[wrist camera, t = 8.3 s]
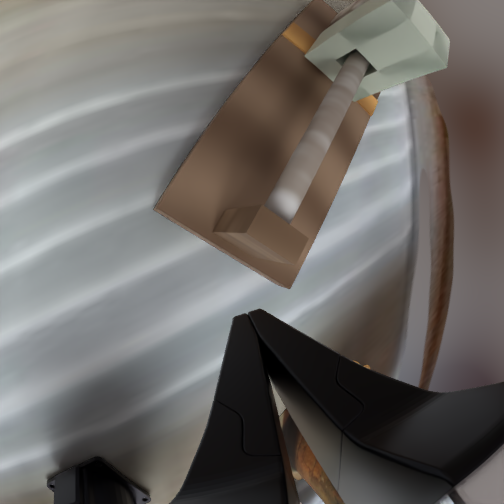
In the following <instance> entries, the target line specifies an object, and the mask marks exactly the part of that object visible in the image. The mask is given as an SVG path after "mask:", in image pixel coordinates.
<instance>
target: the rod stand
mask: <svg viewBox="0 0 504 504" xmlns="http://www.w3.org/2000/svg"><path fill="white" fill-rule="evenodd" d="M367 1H369V0H356V1H355V2H353V3H352V4H350V5H349V6H347V7H346V8H345V9H343V10H342V11H340V12H339V13H337V12H336V11H335V10H333V9H332V8H331V7H330V6H329V5H328V4H326V3H325V2H324V1H323V0H313V1H312V2H310V3H309V4H308V5H307V6H306V7H305V8H304V9H303V10H302V11H301V13H300V14H299V15H298V16H297V17H296V18H295V19H294V20H293V21H292V22H291V23H290V24H289V25H288V27H287V28H286V29H285V30H284V31H283V32H282V33H281V34H280V35H279V37H278V38H277V39H276V40H275V41H274V42H273V43H272V45H271V46H270V47H269V48H268V49H267V50H266V52H265V53H264V54H263V55H262V56H261V58H260V59H259V60H258V61H257V62H256V64H255V65H254V66H253V67H252V69H251V70H250V71H249V72H248V73H247V75H246V76H245V77H244V78H243V80H242V81H241V82H240V84H239V85H238V86H237V87H236V89H235V90H234V91H233V93H232V94H231V95H230V97H229V98H228V99H227V100H226V102H225V103H224V104H223V106H222V107H221V109H220V110H219V111H218V113H217V114H216V115H215V117H214V118H213V119H212V121H211V122H210V124H209V125H208V126H207V128H206V129H205V131H204V132H203V134H202V135H201V136H200V138H199V139H198V141H197V142H196V144H195V145H194V147H193V148H192V150H191V151H190V152H189V154H188V155H187V157H186V158H185V160H184V161H183V163H182V165H181V166H180V168H179V169H178V171H177V172H176V174H175V175H174V177H173V178H172V180H171V182H170V183H169V185H168V186H167V188H166V190H165V191H164V193H163V194H162V196H161V198H160V199H159V201H158V203H157V204H156V206H155V208H154V209H153V210H155V211H156V212H158V213H160V214H161V215H163V216H164V217H166V218H168V219H169V220H171V221H173V222H174V223H176V224H177V225H179V226H181V227H182V228H184V229H186V230H187V231H189V232H191V233H192V234H194V235H195V236H197V237H199V238H200V239H202V240H204V241H205V242H207V243H209V244H210V245H212V246H214V247H215V248H217V249H218V250H220V251H222V252H223V253H225V254H227V255H228V256H230V257H232V258H233V259H235V260H237V261H238V262H240V263H242V264H243V265H245V266H247V267H248V268H250V269H252V270H253V271H255V272H257V273H258V274H260V275H262V276H263V277H265V278H267V279H268V280H270V281H272V282H274V283H275V284H277V285H279V286H282V287H285V288H288V289H290V288H291V286H292V284H293V282H294V280H295V278H296V276H297V274H298V272H299V270H300V268H301V266H302V264H303V262H304V260H305V258H306V256H307V254H308V252H309V250H310V248H311V246H312V244H313V242H314V240H315V238H316V236H317V234H318V232H319V230H320V228H321V226H322V224H323V221H324V219H325V217H326V215H327V213H328V211H329V209H330V207H331V204H332V202H333V200H334V198H335V196H336V194H337V191H338V189H339V187H340V185H341V183H342V181H343V178H344V176H345V174H346V172H347V169H348V167H349V165H350V163H351V160H352V158H353V156H354V154H355V151H356V149H357V147H358V144H359V142H360V140H361V137H362V135H363V133H364V130H365V128H366V126H367V123H368V121H369V119H370V116H372V115H373V112H374V110H375V107H376V105H377V103H378V101H377V99H378V97H379V94H380V92H381V91H380V92H378V93H375V94H372V95H370V96H368V97H365V98H363V99H360V100H358V101H355V102H353V101H352V100H353V98H354V95H355V93H356V91H357V89H358V87H359V85H360V83H361V81H362V79H363V77H364V75H365V73H366V70H367V68H368V66H369V64H370V62H369V61H368V60H367V59H366V58H365V57H364V56H363V55H362V54H361V53H360V52H359V51H358V50H357V49H354V50H352V51H351V52H350V54H349V55H348V57H347V59H346V61H345V62H344V64H343V66H342V68H341V69H340V71H339V73H338V75H337V76H336V78H335V80H334V82H333V81H332V80H331V79H329V78H328V77H327V76H326V75H325V74H324V73H323V72H322V71H321V70H320V69H318V68H317V67H316V66H315V65H314V64H313V63H312V62H310V61H309V60H308V59H307V58H306V57H305V54H306V53H307V52H308V50H309V49H310V48H311V46H312V45H313V44H314V42H315V41H316V39H317V38H318V37H319V35H320V34H321V33H322V32H323V31H324V30H325V29H327V28H328V27H330V26H331V25H332V24H334V23H335V22H337V21H338V20H340V19H341V18H343V17H344V16H346V15H347V14H349V13H350V12H352V11H353V10H355V9H356V8H358V7H359V6H361V5H362V4H364V3H365V2H367Z"/></svg>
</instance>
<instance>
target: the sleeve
mask: <svg viewBox="0 0 504 504" xmlns="http://www.w3.org/2000/svg"><path fill="white" fill-rule="evenodd" d="M449 45H450V40H449V38H448V37H447V35H446V34H445V33H444V31H443V30H442V29H441V27H440V26H439V25H438V24H437V22H436V21H435V20H434V19H433V17H432V16H431V15H430V14H429V12H428V11H427V10H426V9H425V8H424V6H423V5H422V4H421V3H420V2H419V0H369V1H367V2H365V3H364V4H362V5H361V6H359V7H358V8H356V9H355V10H353V11H352V12H350V13H349V14H347V15H346V16H344V17H343V18H341V19H340V20H338V21H337V22H335V23H334V24H332V25H331V26H330V27H328V28H327V29H325V30H324V31H323V32H322V33H321V34H320V35H319V37H318V38H317V39H316V41H315V42H314V44H313V45H312V46H311V48H310V49H309V50H308V52H307V53H306V54H305V57H306V58H307V59H308V60H309V61H310V62H312V63H313V64H314V65H315V66H316V67H317V68H318V69H320V70H321V71H322V72H323V73H324V74H325V75H326V76H327V77H328V78H329V79H331V80H332V81H333V82H334V80H335V78H336V76H337V75H338V73H339V71H340V69H341V68H342V66H343V64H344V62H345V61H346V59H347V57H348V55H349V54H350V52H351V51H352V50H354V49H357V50H358V51H359V52H360V53H361V54H362V55H363V56H364V57H365V58H366V59H367V60H368V61H369V62H370V64H369V66H368V68H367V70H366V73H365V75H364V77H363V79H362V81H361V83H360V85H359V87H358V89H357V91H356V93H355V95H354V98H353V100H352V101H353V102H355V101H358V100H360V99H363V98H365V97H368V96H370V95H372V94H375V93H378V92H380V91H383V90H385V89H388V88H390V87H393V86H396V85H398V84H401V83H404V82H406V81H409V80H412V79H415V78H418V77H421V76H423V75H426V74H429V73H432V72H435V71H438V70H441V69H444V68H447V63H448V54H449Z"/></svg>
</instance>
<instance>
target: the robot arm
mask: <svg viewBox="0 0 504 504" xmlns="http://www.w3.org/2000/svg"><path fill="white" fill-rule="evenodd" d="M269 377H270V379H269ZM270 380H271V382H272V384H273V385H274V387H275V389H276V391H277V393H278V394H279V396H280V398H281V400H282V401H283V403H284V405H285V407H286V408H287V410H288V412H289V413H290V415H291V417H292V419H293V420H294V422H295V424H296V425H297V427H298V429H299V430H300V432H301V434H302V435H303V437H304V439H305V440H306V442H307V444H308V445H309V447H310V449H311V450H312V452H313V454H314V455H315V457H316V459H317V460H318V462H319V463H320V465H321V467H322V468H323V470H324V471H325V473H326V475H327V476H328V478H329V479H330V481H331V483H332V484H333V486H334V487H335V489H336V490H337V492H338V494H339V495H340V497H341V498H342V500H343V501H344V503H345V504H504V382H500V383H496V384H491V385H487V386H482V387H477V388H472V389H466V390H460V391H454V392H442V393H441V392H433V391H428V390H424V389H421V388H418V387H415V386H413V385H410V384H407V383H404V382H402V381H399V380H396V379H393V378H391V377H388V376H385V375H383V374H380V373H378V372H376V371H373V370H371V369H368V368H366V367H364V366H362V365H360V364H358V363H356V362H354V361H352V360H350V359H348V358H347V357H345V356H343V355H340V354H339V353H337V352H336V351H334V350H332V349H330V348H328V347H327V346H325V345H323V344H321V343H319V342H318V341H316V340H314V339H312V338H311V337H309V336H307V335H305V334H304V333H302V332H300V331H298V330H297V329H295V328H293V327H291V326H290V325H288V324H286V323H285V322H283V321H281V320H279V319H278V318H276V317H274V316H273V315H271V314H269V313H267V312H266V311H264V310H262V309H257V310H254V311H251V312H249V313H248V315H247V314H241V315H238V316H235V317H234V318H233V321H232V325H231V329H230V333H229V337H228V341H227V346H226V350H225V354H224V358H223V362H222V366H221V371H220V375H219V379H218V383H217V387H216V391H215V396H214V401H213V403H212V408H211V412H210V415H209V419H208V422H207V426H206V429H205V432H204V434H203V437H202V440H201V443H200V445H199V447H198V450H197V452H196V455H195V457H194V460H193V462H192V464H191V467H190V469H189V472H188V474H187V476H186V479H185V481H184V483H183V485H182V487H181V489H180V491H179V492H178V494H177V495H176V497H175V498H174V499H173V500H172V501H171V502H170V503H169V504H300V501H299V497H298V493H297V489H296V485H295V481H294V477H293V473H292V469H291V465H290V461H289V457H288V453H287V448H286V444H285V440H284V436H283V432H282V428H281V424H280V419H279V415H278V411H277V407H276V403H275V398H274V394H273V390H272V386H271V382H270ZM97 462H99V463H100V464H98V463H97ZM47 487H48V488H49V489H51V490H52V491H53V492H54V504H146V503H148V502H150V501H151V498H150V495H149V494H147V493H146V492H145V491H143V490H142V489H140V488H139V487H138V486H136V485H135V484H134V483H132V482H131V481H130V480H128V479H127V478H126V477H124V476H123V475H122V474H121V473H119V472H118V471H117V470H116V469H114V468H113V467H112V466H111V465H110V464H108V463H107V462H106V461H105V460H104V459H102V458H100V457H94V458H92V459H90V460H88V461H86V462H84V463H82V464H80V465H78V466H74V467H72V468H70V469H68V470H66V471H64V472H62V473H60V474H58V475H56V476H55V477H53V478H51V479H49V480H48V481H47Z"/></svg>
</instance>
